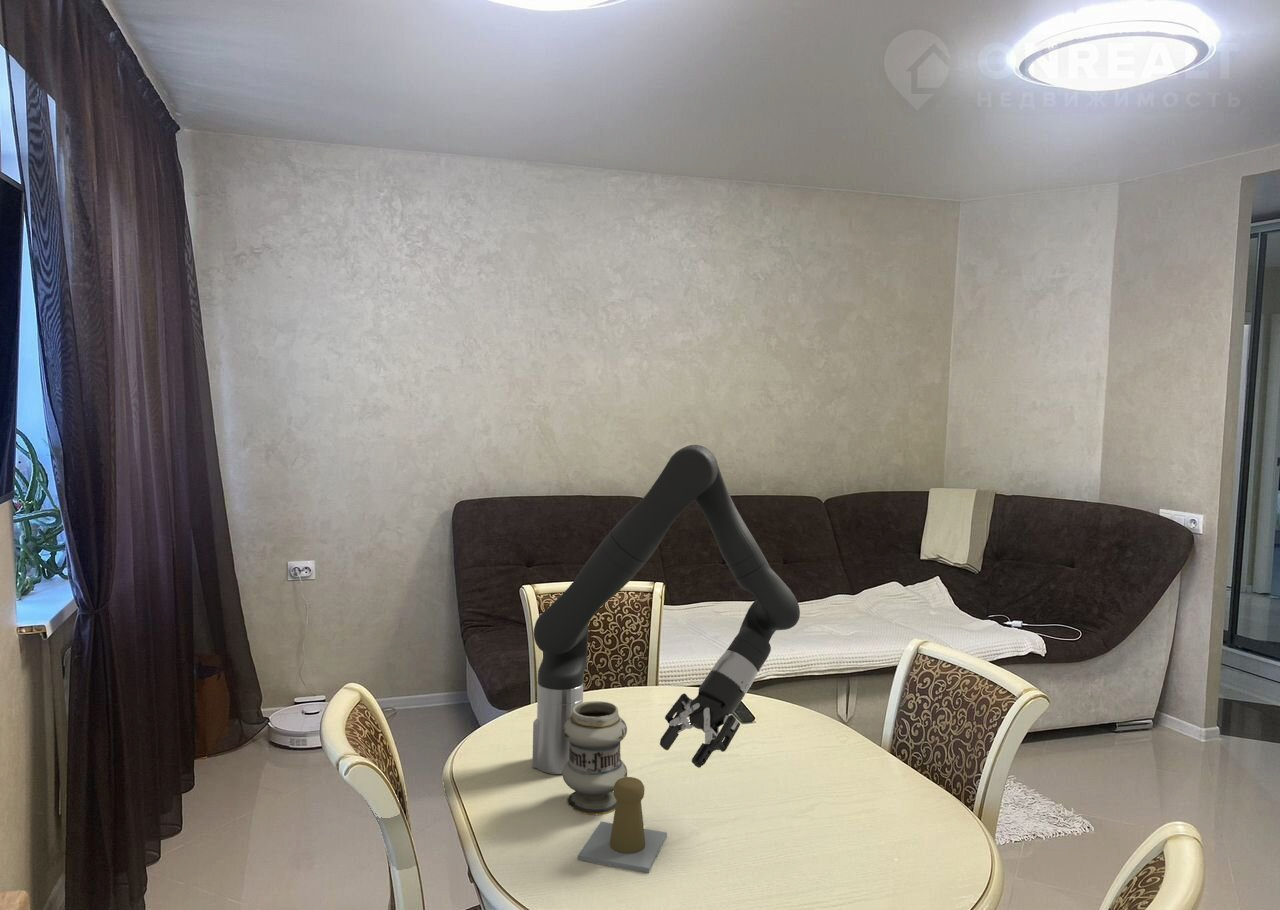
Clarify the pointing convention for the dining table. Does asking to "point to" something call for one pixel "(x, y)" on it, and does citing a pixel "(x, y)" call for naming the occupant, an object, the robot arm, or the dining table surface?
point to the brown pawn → (628, 816)
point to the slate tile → (605, 855)
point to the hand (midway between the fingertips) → (678, 756)
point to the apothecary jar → (594, 756)
